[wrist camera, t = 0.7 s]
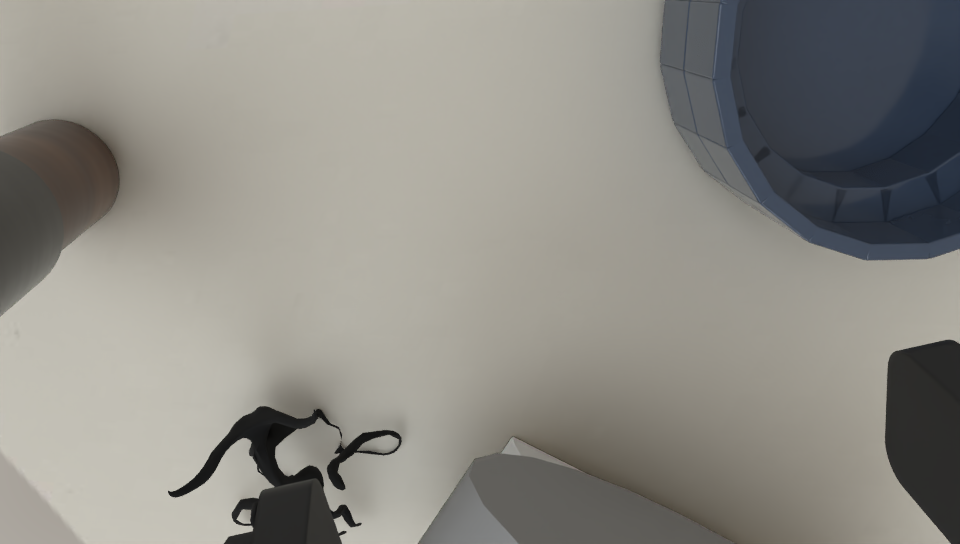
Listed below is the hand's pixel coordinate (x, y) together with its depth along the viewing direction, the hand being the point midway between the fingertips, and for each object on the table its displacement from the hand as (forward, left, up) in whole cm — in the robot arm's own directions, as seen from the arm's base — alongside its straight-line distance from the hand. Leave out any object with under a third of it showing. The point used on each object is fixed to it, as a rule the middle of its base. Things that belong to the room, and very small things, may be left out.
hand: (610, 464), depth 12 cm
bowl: (0, +15, -22) cm, 26 cm away
